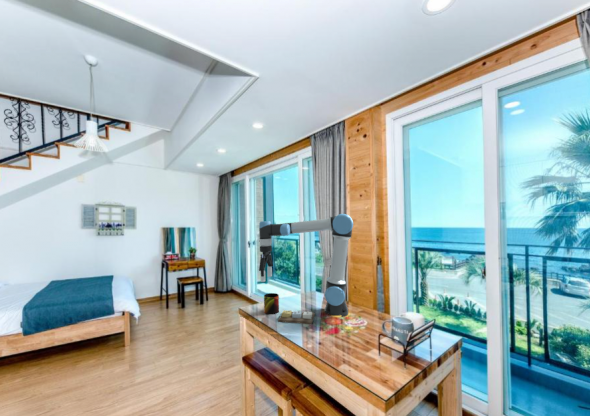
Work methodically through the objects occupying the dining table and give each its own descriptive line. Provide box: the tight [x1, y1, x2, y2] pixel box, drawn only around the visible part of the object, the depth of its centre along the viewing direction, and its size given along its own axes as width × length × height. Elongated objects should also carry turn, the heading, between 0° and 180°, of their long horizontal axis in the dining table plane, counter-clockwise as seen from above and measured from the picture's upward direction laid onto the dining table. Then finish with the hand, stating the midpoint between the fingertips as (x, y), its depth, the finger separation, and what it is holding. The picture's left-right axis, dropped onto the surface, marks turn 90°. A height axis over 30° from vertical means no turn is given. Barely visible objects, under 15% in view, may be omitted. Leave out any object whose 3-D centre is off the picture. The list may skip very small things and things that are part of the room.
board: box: [277, 311, 316, 325], centre depth 161 cm, size 20×14×2 cm
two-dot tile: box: [292, 310, 303, 318], centre depth 161 cm, size 5×5×4 cm
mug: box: [263, 292, 280, 316], centre depth 175 cm, size 10×14×12 cm
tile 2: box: [303, 311, 313, 319], centre depth 160 cm, size 5×5×4 cm
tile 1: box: [281, 309, 293, 318], centre depth 162 cm, size 5×5×4 cm
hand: (266, 279), depth 168 cm, fingers open, 13 cm apart
